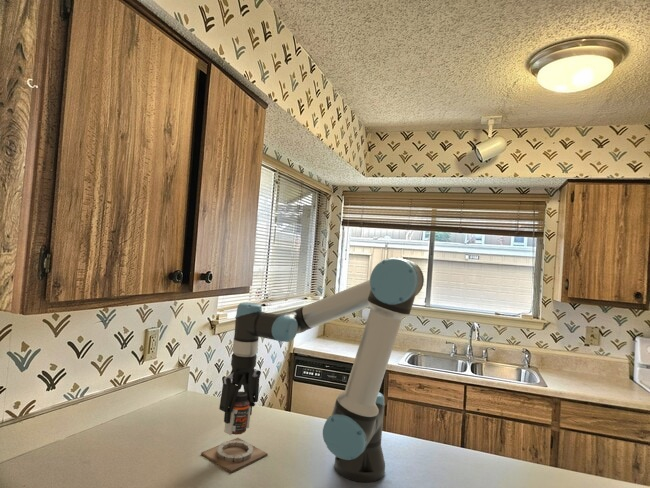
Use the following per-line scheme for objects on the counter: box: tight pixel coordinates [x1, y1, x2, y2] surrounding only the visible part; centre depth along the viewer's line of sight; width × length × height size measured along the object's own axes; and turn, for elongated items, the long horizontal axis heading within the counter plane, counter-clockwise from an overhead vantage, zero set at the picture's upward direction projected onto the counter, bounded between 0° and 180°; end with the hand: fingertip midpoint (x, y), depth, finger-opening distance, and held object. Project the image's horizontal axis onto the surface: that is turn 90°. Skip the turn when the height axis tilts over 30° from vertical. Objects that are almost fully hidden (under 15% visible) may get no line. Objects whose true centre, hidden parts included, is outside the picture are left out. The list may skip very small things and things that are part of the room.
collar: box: [217, 440, 253, 462], centre depth 116 cm, size 11×11×1 cm
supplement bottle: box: [232, 391, 249, 435], centre depth 116 cm, size 6×6×11 cm
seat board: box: [200, 437, 268, 474], centre depth 116 cm, size 14×14×1 cm
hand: (236, 429), depth 116 cm, fingers closed on supplement bottle, 6 cm apart
